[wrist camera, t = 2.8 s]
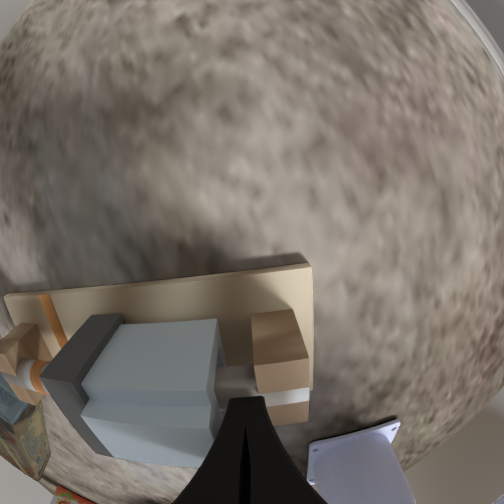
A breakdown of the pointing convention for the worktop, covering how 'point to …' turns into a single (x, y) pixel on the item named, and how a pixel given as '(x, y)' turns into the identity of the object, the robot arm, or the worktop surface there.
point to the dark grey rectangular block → (79, 372)
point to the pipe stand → (185, 309)
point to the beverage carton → (22, 433)
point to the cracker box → (67, 497)
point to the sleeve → (157, 392)
